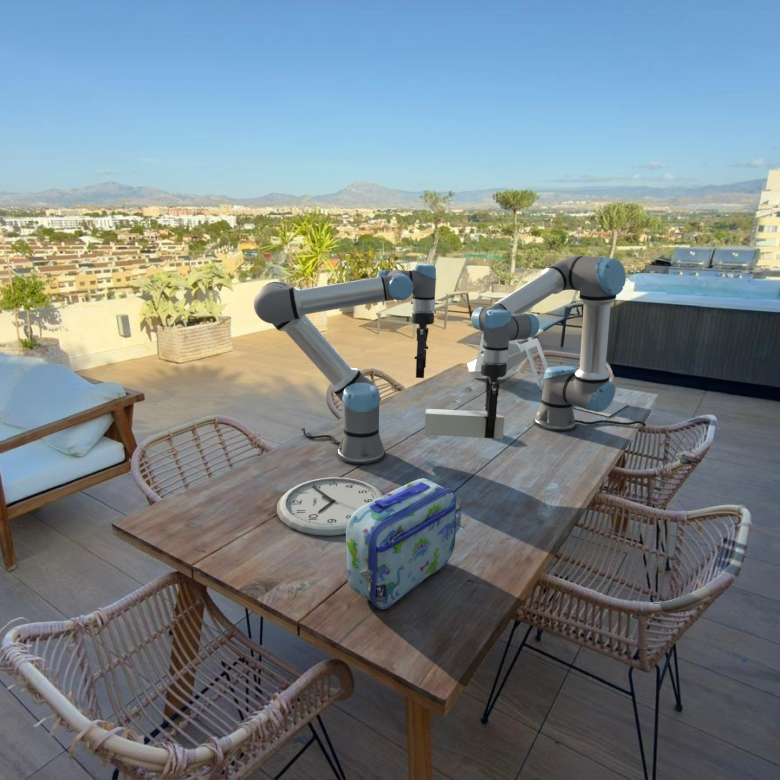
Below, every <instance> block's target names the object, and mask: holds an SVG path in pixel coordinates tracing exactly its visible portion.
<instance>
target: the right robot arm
mask: <svg viewBox="0 0 780 780" xmlns="http://www.w3.org/2000/svg"><path fill="white" fill-rule="evenodd" d="M626 277H627V275H626V269H625V267H624V265H623V263H622V262H621V261H620V260H619V259H617V258H611V257H607V256H586V255H585V256H583V255H574V256H569V257H567V258H564V259H561V260H559V261H557V262H555V263H553V264H551V265H550V266H548V267H546V268H545V269H543V271H542V272H541V274H540V275H539V276H538V277H535V278H534V279H532V280H531V281H529V282H528V283H526V284H524V285H522V286H521V287H519V288H518V289H516V290H514V291H513V292H512V293H510V294H509V295H506V296H505V297H503V298H502V299H500V300H499V301H497V302H495V303H494V304H492V305H490V306H489V307H486V306H483V307H482V306H480V307H477V308H475V309H474V310H473V312H472V314H471V317H470V320H471V325H472V327H473V328H474V329H475V330H478V331H481V332H483V333H482V334H483V351H480V353H481V354H482V360H483V362H482V363H481V374H482V375H484V376H483V377H486V379H485V393H486V394H485V404H484V406H485V408H484V410H485V412H487V416H484V418H485V419H486V427H485V438H484V439H495V438H494V429H495V419H496V412H498V411H497V410H498V398H499V391H500V387H501V386H500V385H501V382H500V379H499V378H503V377H506V375H507V373H506V370H507V364H506V362H507V360H508V346H509V341H512V340H526V339H527V340H528V338H530V337H532V338H533V337H535V336H536V335H537V334H538V333H539V330H540V321H539V319H538V317H537V316H536V315H535V314H534V313H526V312H527V311H528V310H530V309H531V308H533V307H535V306H536V305H538V304H539V303H541V302H542V301H544V300H545V299H547V298H548V297H550V296H551V295H558V294H560V293H561V292H563V291H579V300H580V301H581V302H582V303H583V309H582V322H581V323H582V324H581V341H580V356H579V368H577V367H576V366H571V365H570V366H569V365H557V366H556V365H555V366H550V367H549V366H548V368H547V369H546V370H545V369H544V375H543V378H542V379H543V381H542V382H543V383H542V390H541V391H542V394H541V402H540V405H539V407H538V410H537V411H536V413H535V416H534V424H535V425H536V426H537V427H539V428H542V429H544V430H549V431H556V432H567V431H572V430H574V429H575V428H576V423H577V424H582V425H596V424H601V423H603V424H615V425H621V426H631V425H637V424H640V425H642V426H643V427H647V425H646V423H644V422H643V421H641V420H635V421H630V422H624V421H622V422H621V421H615V420H607V419H602V420H593V421H583V420H578V419H576V418H575V417H576V416H575V413H574V407H576V406H578V407H581V408H584V409H587V410H589V411H595V412H601V411H603V410H605V409H606V408H607V407H608V406H609V405H610V403H611V402H612V401H614V398H615V395H616V385H615V383H614V382H612V381H610V373H609V371H607V369H606V368H607V367H606V365H607V353H608V341H609V328H610V318H611V304H612V303H613V302H614V301H615V300H616V299H617V295H619V294H620V293H622V291H623V290H624V287H625V285H626V279H627V278H626ZM522 313H524V314H522ZM573 406H574V407H573Z"/></svg>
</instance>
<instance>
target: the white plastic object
mask: <svg viewBox="0 0 780 780" xmlns="http://www.w3.org/2000/svg"><path fill="white" fill-rule="evenodd" d="M524 313H525V312H523V313H522V314H524ZM480 337H481V338H480V342H479V348H478V352H477V356H476V359H474V360H472V361H470V362H467V363H466V366H467V369H468V373H469V374H470V376H471V377H472V378H480V377H485V376H484V375H482V374H481V363H482V362H483V360H482V354H481V353H480V351H483V333H482V334H481V336H480ZM536 353H538V355H539V357H540V360H541V363H542V367H543V369H544V371H545V370H546V369H547V368H549V366H548V363H547V359H546V357H545V353H544V350H543V348H542V345H541V342H540V340H539V339H538V338H537V337H535V338H533V337H530V338H527V341H525V342H523V343H519V342H518V341H517V340H512V341H509V346H508V360H507V362H506V364H507V370H506V374H509V371H510V370H511V369H513V368H514V367H516V366H517V365H519V363H521V362H522V361H524V360H525V359H526V358H527V359H528V363H529V367H530V369H531V372H532V375H533V378H534V381H535V384H536V385H537V386H538V388H539V389H540V391H543V384H542V382H541V380H540V376H539V374H538V370H537V367H536V365H535V361H534V358H533V355H534V354H536Z"/></svg>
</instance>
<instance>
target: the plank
mask: <svg viewBox="0 0 780 780" xmlns="http://www.w3.org/2000/svg"><path fill="white" fill-rule="evenodd" d="M484 416H487V411H480V410H478V411H477V410H458V409H441V408H440V409H435V408H426V409H425V415H424V417H425V418H424V435H427V436H428V435H429V436H446V437H461V438H463V437H465V438H480V439H481V438H482V439H483V438H484V439H486V438H485V427H486V419H485V418H484ZM504 426H505V414H504V412H501V411H499V412H498V411H496V419H495V429H494V438H493V439H501V440H502V439H504V428H505V427H504Z"/></svg>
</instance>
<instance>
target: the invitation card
mask: <svg viewBox="0 0 780 780" xmlns="http://www.w3.org/2000/svg"><path fill="white" fill-rule="evenodd" d="M627 406H628V404H627V403H623V402H618V401H614V400H612V402H611V403H610V405H609V406H608V407H607V408H606V409H605V410H603V411H601V412H595V411H589V410H587V409H584V408H581V407H578V406H574V407H573V409H575V410H580V411H584V412H587V413H592V414H594V415H595V414H596V415H600V416H603V417H608V418H609V417H611V416H612V415H614V414H616V413H617V412H619V411H620V410H622V409H624V408H625V407H627Z"/></svg>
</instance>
